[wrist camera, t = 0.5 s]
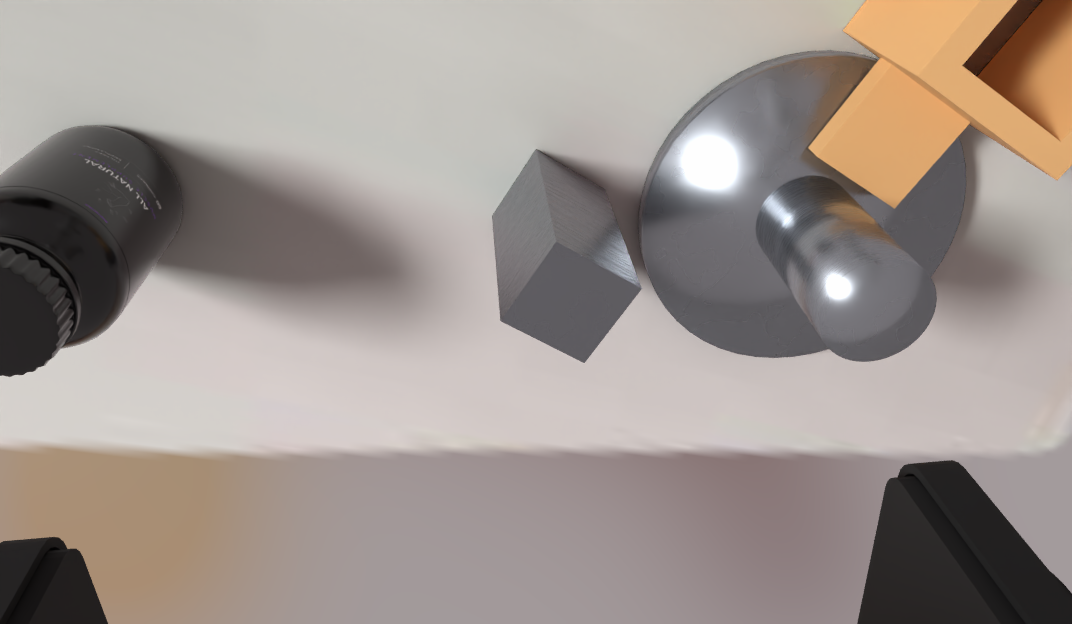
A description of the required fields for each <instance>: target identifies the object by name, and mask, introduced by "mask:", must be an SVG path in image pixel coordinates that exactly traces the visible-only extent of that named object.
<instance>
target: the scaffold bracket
mask: <svg viewBox="0 0 1072 624" xmlns="http://www.w3.org/2000/svg"><path fill="white" fill-rule="evenodd" d="M1017 1H1018V0H866V1H865V3H864V4H863V5H862V7H861V8H860V9H859V10H858V12H857V13H856V14H855V16H854V17H853V18H852V19H851V21H850V22H849V23H848V25H847V26H846V27H845V28H844V30H843V31H844V32H845V33H846V34H848V35H849V36H850V37H852V38H853V39H854V40H856V41H857V42H858V43H860V44H861V45H863V46H864V47H865V48H867V49H868V50H869V51H871V52H872V53H873V54H875V55H876V56H877V57H879V58H880V59H879V60H878V61H877V63H876V64H875V65H874V66H873V68H872V69H871V70H870V71H869V73H868V74H867V75H866V76H865V78H864V79H863V80H862V81H861V82H860V84H859V85H858V86H857V87H856V89H855V90H854V91H853V92H852V94H851V95H850V96H849V97H848V99H847V100H846V101H845V102H844V104H843V105H842V106H841V107H840V109H839V110H838V111H837V112H836V114H835V115H834V116H833V117H832V119H831V120H830V121H829V122H828V124H827V125H826V126H825V127H824V129H823V130H822V131H821V132H820V133H819V135H818V136H817V137H816V138H815V140H814V141H813V142H812V143H811V145H810V146H809V147H808V148H809V149H810V150H811V151H812V152H813V153H814V154H815V155H816V156H817V157H818V158H820V159H821V160H823V161H824V162H826V163H827V164H828V165H830V166H831V167H833V168H834V169H836V170H837V171H839V172H840V173H842V174H843V175H845V176H846V177H848V178H849V179H851V180H852V181H854V182H855V183H857V184H858V185H860V186H861V187H863V188H864V189H866V190H867V191H869V192H870V193H872V194H873V195H875V196H876V197H878V198H879V199H881V200H882V201H884V202H885V203H887V204H888V205H890V206H891V207H893V208H894V209H895V208H896V206H897V205H898V204H899V203H900V202H901V201H902V200H903V199H904V197H905V196H906V195H907V194H908V193H909V192H910V191H911V189H912V188H913V187H914V186H915V185H916V184H917V183H918V181H919V180H920V179H921V178H922V177H923V176H924V175H925V174H926V172H927V171H928V170H929V169H930V168H931V167H932V166H933V164H934V163H935V162H936V161H937V160H938V159H939V158H940V156H941V155H942V154H943V153H944V152H945V151H946V150H947V149H948V147H949V146H950V145H951V144H952V143H953V142H954V141H955V139H956V138H957V137H958V136H959V135H960V134H961V133H962V132H963V130H964V129H965V128H966V127H967V126H968V125H971V126H973V127H974V128H976V129H977V130H979V131H980V132H982V133H984V134H985V135H987V136H988V137H990V138H991V139H993V140H995V141H996V142H998V143H999V144H1001V145H1002V146H1004V147H1005V148H1007V149H1009V150H1010V151H1012V152H1013V153H1015V154H1016V155H1018V156H1020V157H1021V158H1023V159H1024V160H1026V161H1027V162H1029V163H1030V164H1032V165H1034V166H1035V167H1037V168H1038V169H1040V170H1041V171H1043V172H1045V173H1046V174H1048V175H1049V176H1051V177H1052V178H1054V179H1056V180H1058V179H1059V178H1060V177H1061V176H1062V175H1063V174H1064V173H1065V172H1066V171H1067V170H1068V168H1069V167H1070V166H1071V165H1072V0H1043V1H1042V2H1041V3H1040V4H1039V5H1038V6H1037V8H1036V9H1035V10H1034V11H1033V12H1032V13H1031V15H1030V16H1029V17H1028V18H1027V19H1026V20H1025V22H1024V23H1023V24H1022V25H1021V26H1020V27H1019V28H1018V30H1017V31H1016V32H1015V33H1014V34H1013V35H1012V37H1011V38H1010V39H1009V40H1008V41H1007V42H1006V44H1005V45H1004V46H1003V47H1002V48H1001V49H1000V51H999V52H998V53H997V54H996V55H995V56H994V57H993V59H992V60H991V61H990V62H989V63H988V64H987V66H986V67H985V68H984V69H983V70H982V71H981V73H980V74H979V75H978V76H977V77H976V76H975V75H974V74H972V73H971V72H970V71H968V70H967V69H966V68H965V67H963V66H962V65H963V64H964V63H965V62H966V61H967V59H968V58H969V57H970V56H971V55H972V53H973V52H974V51H975V50H976V49H977V48H978V46H979V45H980V44H981V43H982V42H983V41H984V39H985V38H986V37H987V36H988V35H989V33H990V32H991V31H992V30H993V29H994V28H995V26H996V25H997V24H998V23H999V22H1000V21H1001V19H1002V18H1003V17H1004V16H1005V15H1006V13H1007V12H1008V11H1009V10H1010V9H1011V8H1012V6H1013V5H1014V4H1015V3H1016V2H1017Z"/></svg>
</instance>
